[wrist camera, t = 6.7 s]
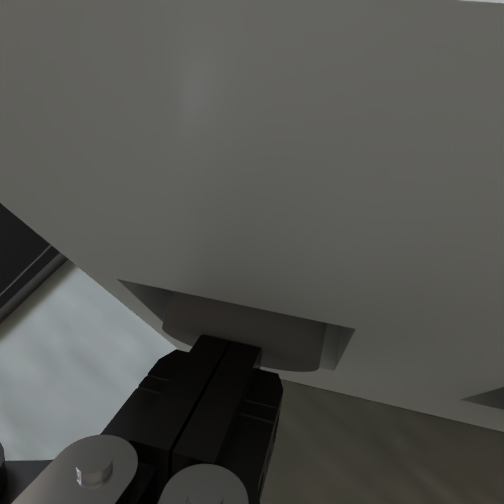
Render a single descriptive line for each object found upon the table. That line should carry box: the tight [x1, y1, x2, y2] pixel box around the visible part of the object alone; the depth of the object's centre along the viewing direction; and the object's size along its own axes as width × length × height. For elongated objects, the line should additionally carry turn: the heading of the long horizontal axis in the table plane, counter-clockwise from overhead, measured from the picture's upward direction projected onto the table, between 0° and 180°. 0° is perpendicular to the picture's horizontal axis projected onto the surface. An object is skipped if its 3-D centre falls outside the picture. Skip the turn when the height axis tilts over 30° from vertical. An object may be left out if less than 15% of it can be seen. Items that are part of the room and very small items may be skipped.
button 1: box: [162, 291, 327, 372], centre depth 11 cm, size 4×4×4 cm
